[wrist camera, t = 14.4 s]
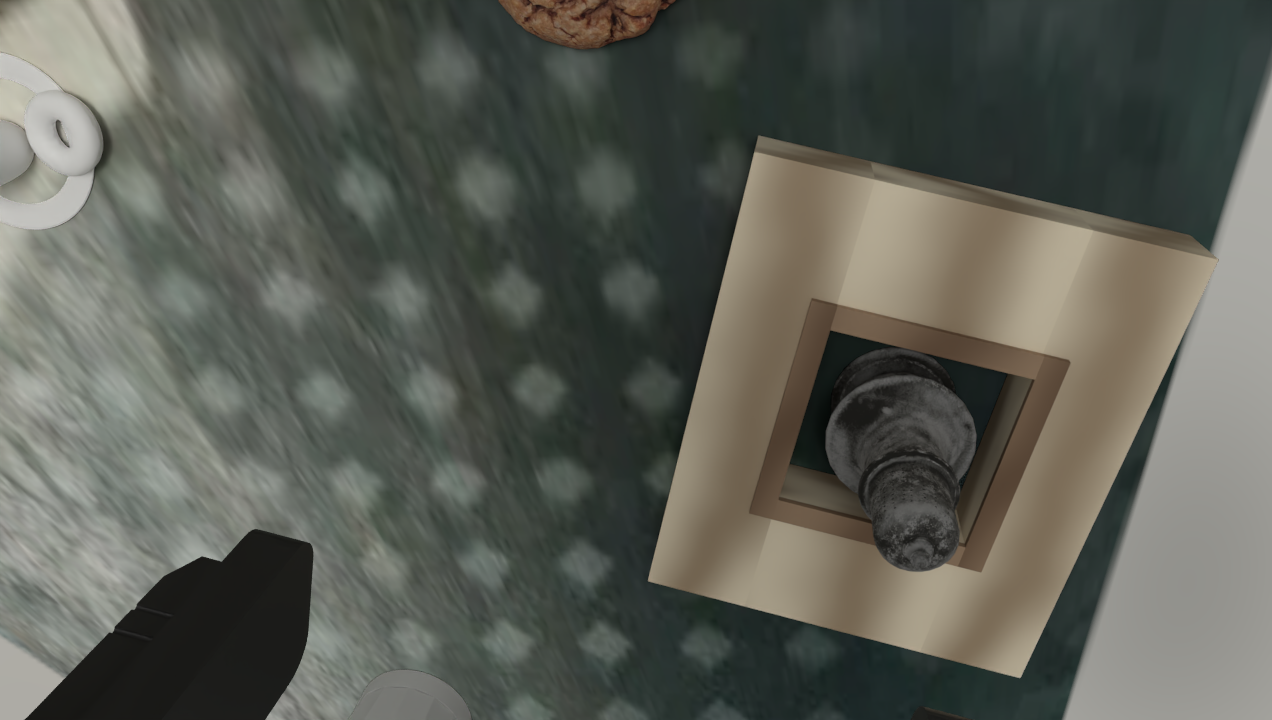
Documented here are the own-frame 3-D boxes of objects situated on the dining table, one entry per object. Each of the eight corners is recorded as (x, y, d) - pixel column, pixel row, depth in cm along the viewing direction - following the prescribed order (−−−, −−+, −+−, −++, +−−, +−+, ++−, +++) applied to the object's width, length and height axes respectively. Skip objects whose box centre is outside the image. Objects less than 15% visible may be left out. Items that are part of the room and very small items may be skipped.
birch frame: (656, 543, 48) (646, 585, 45) (758, 135, 40) (754, 153, 37) (1008, 634, 47) (1021, 682, 44) (1190, 235, 39) (1222, 262, 36)
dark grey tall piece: (948, 471, 44) (994, 652, 34) (814, 452, 45) (816, 624, 34) (977, 350, 42) (1037, 503, 31) (835, 331, 43) (845, 475, 32)
